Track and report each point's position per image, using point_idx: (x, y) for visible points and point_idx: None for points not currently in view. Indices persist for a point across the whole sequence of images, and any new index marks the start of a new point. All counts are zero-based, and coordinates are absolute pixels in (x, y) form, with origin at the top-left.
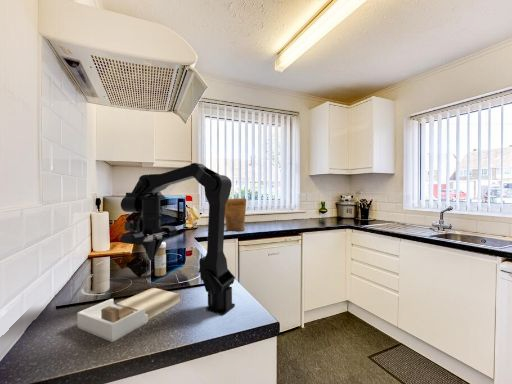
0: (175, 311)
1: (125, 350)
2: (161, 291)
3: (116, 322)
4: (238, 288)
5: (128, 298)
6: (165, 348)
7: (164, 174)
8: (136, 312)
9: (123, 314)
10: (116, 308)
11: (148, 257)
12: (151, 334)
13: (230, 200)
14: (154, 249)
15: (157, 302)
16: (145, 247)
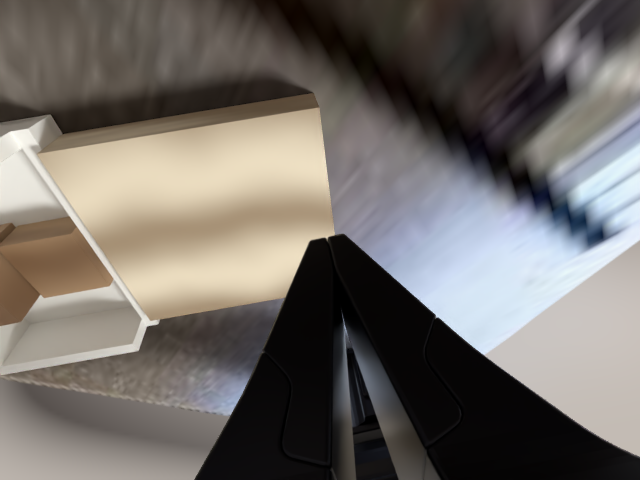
0: (273, 304)
1: (66, 366)
2: (311, 204)
3: (14, 370)
4: (528, 317)
5: (119, 143)
6: (155, 400)
7: None
8: (98, 356)
9: (61, 291)
10: (8, 312)
11: (302, 263)
12: (148, 353)
13: None
14: (351, 450)
15: (225, 289)
16: (242, 451)
